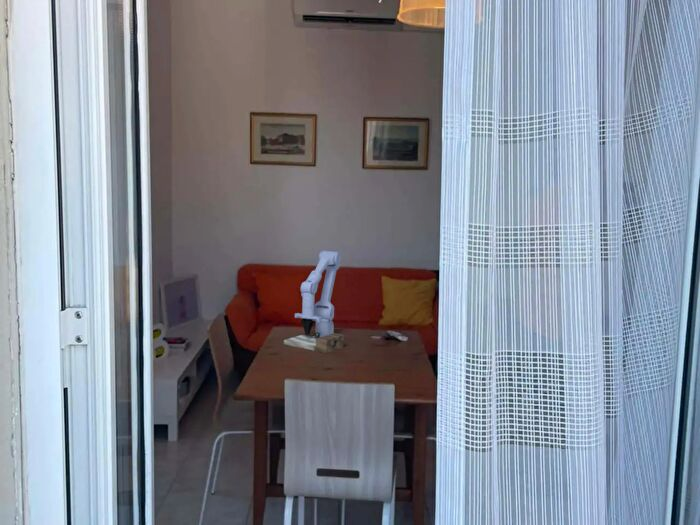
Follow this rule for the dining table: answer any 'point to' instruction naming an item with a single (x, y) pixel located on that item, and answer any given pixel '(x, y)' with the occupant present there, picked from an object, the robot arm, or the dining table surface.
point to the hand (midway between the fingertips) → (307, 334)
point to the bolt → (319, 336)
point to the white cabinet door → (317, 342)
